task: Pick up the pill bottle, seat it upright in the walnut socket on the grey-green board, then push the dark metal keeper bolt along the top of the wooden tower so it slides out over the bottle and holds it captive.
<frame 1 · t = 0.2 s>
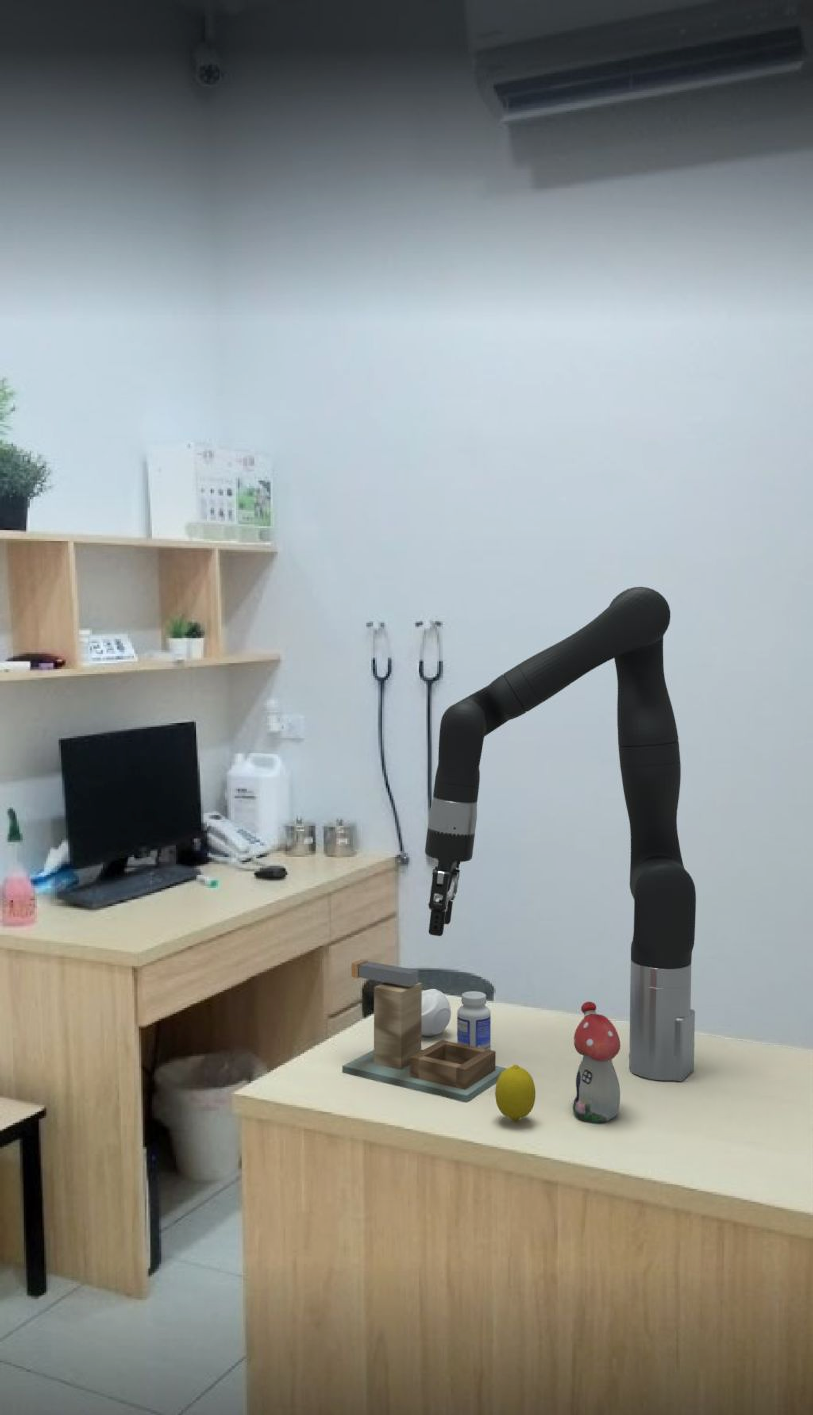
hand: (439, 928, 180), 21 cm above the table, tool pointing down, fingers open, 8 cm apart
keeper: (385, 973, 179), point 15 cm above the table, slide at 0.0 cm
decorative ornament: (594, 1114, 161), on the table
pill bottle: (473, 1054, 185), on the table
socket board: (424, 1073, 176), on the table
white rounded piece: (428, 1035, 194), on the table
lemon: (514, 1123, 158), on the table
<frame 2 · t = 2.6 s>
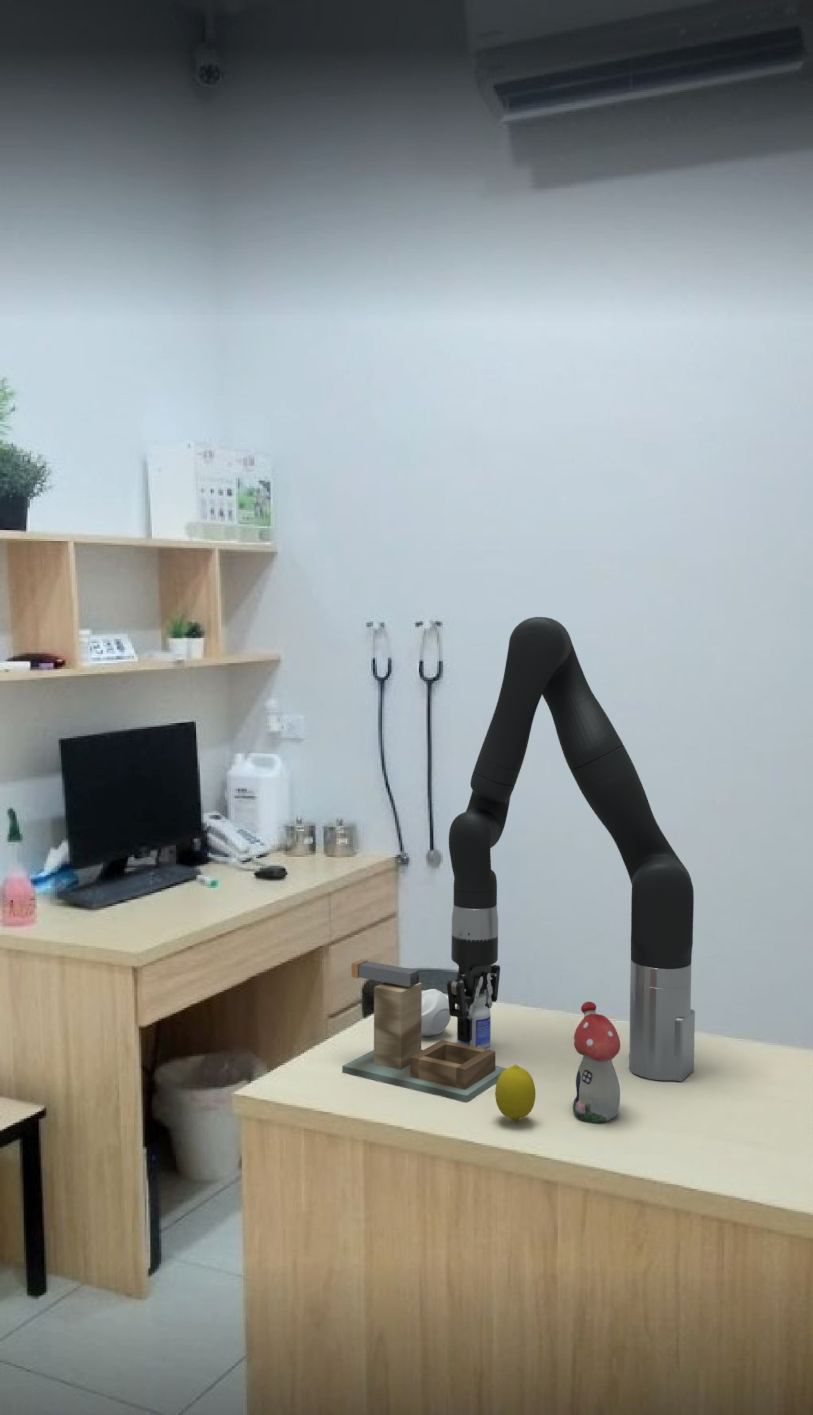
hand: (473, 1035, 185), 3 cm above the table, tool pointing down, fingers closed on pill bottle, 5 cm apart
pill bottle: (473, 1054, 185), on the table, touching gripper
everything else where it was.
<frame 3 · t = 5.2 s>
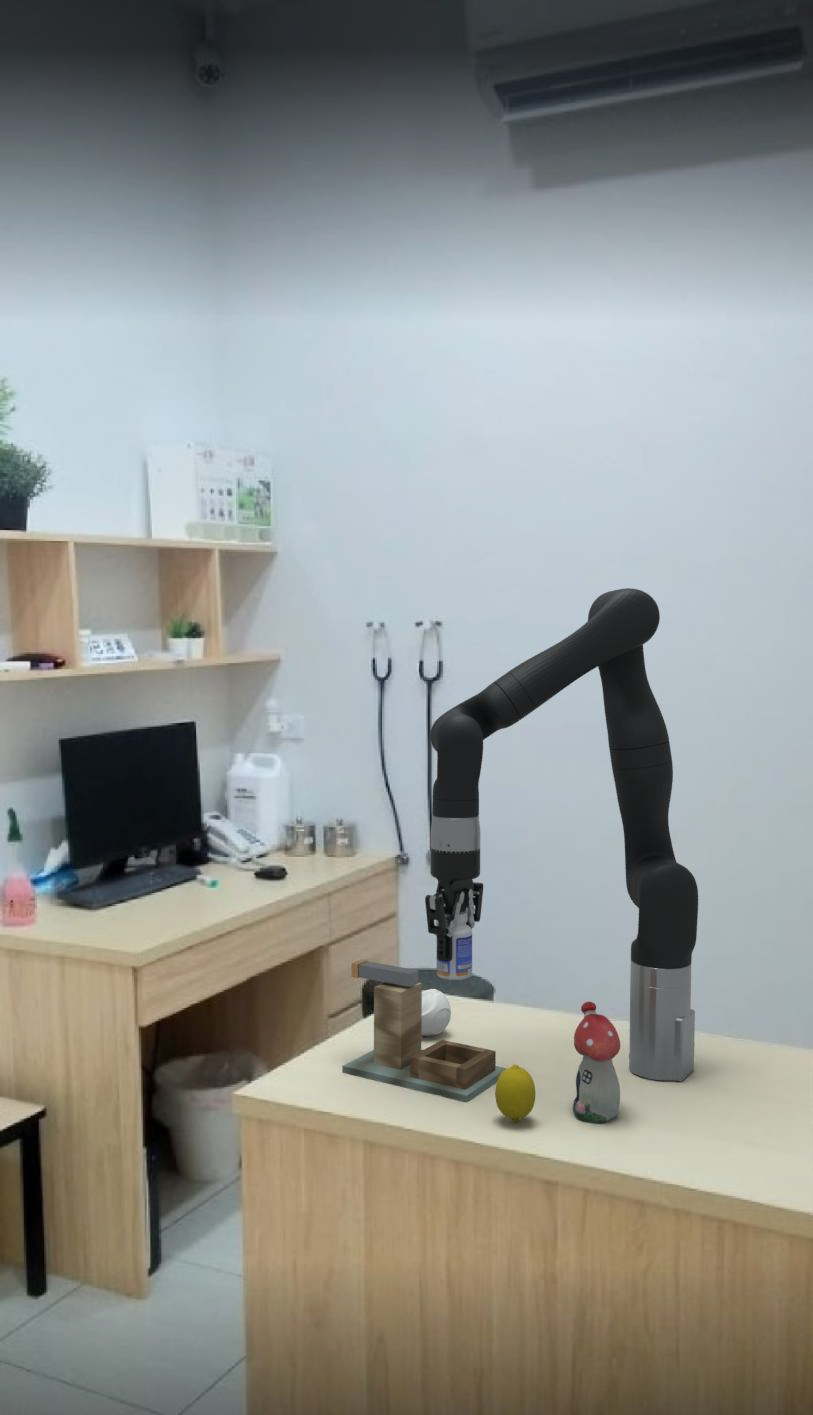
hand: (454, 955, 173), 19 cm above the table, tool pointing down, fingers closed on pill bottle, 5 cm apart
pill bottle: (454, 976, 173), point 16 cm above the table, touching gripper
everything else where it was.
when the fingers open (5 cm above the table, at t = 8.1 s): pill bottle drops 1 cm, resting on socket board.
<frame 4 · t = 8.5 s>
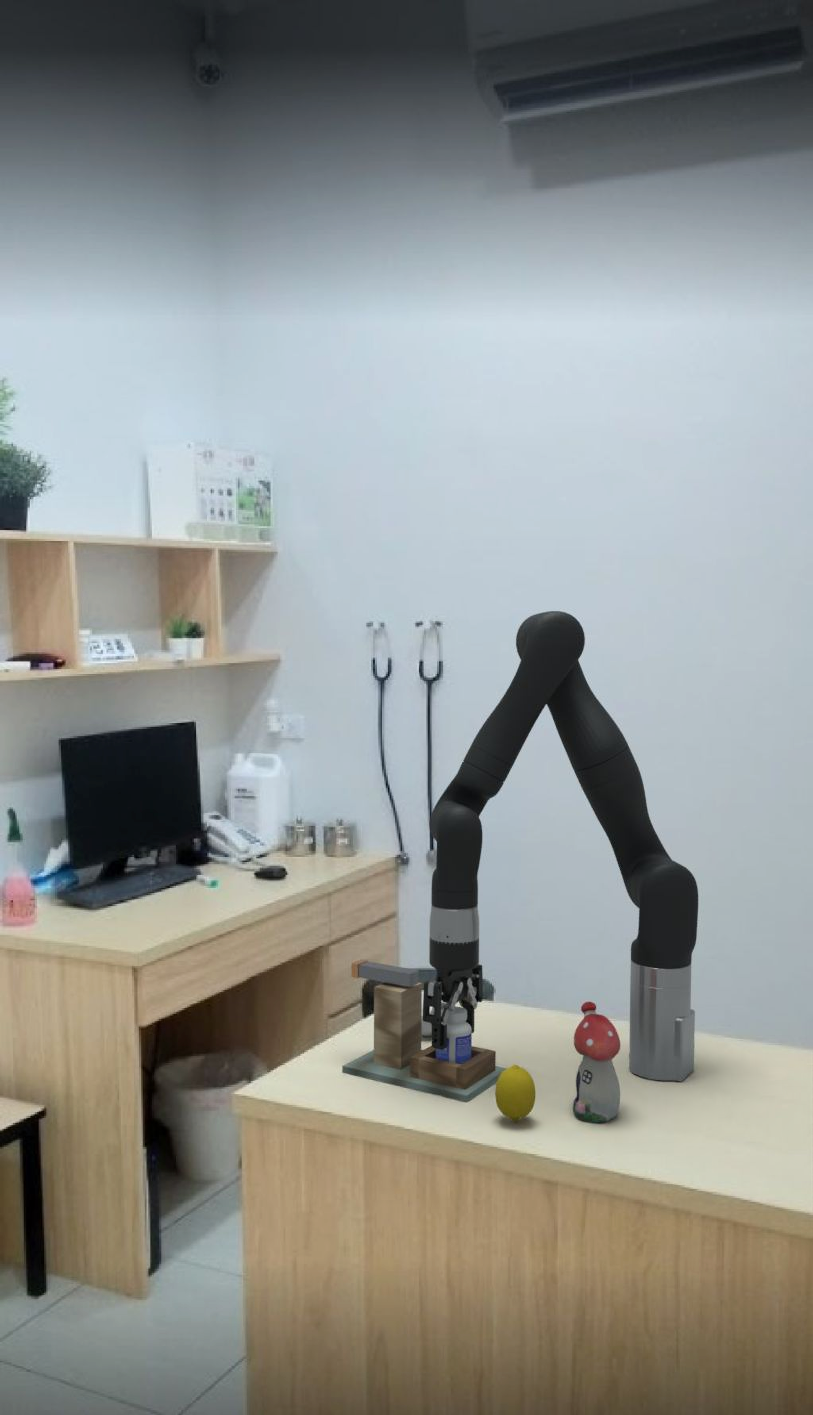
hand: (453, 1040, 173), 6 cm above the table, tool pointing down, fingers open, 8 cm apart
pill bottle: (453, 1074, 173), point 1 cm above the table, touching socket board
everything else where it was.
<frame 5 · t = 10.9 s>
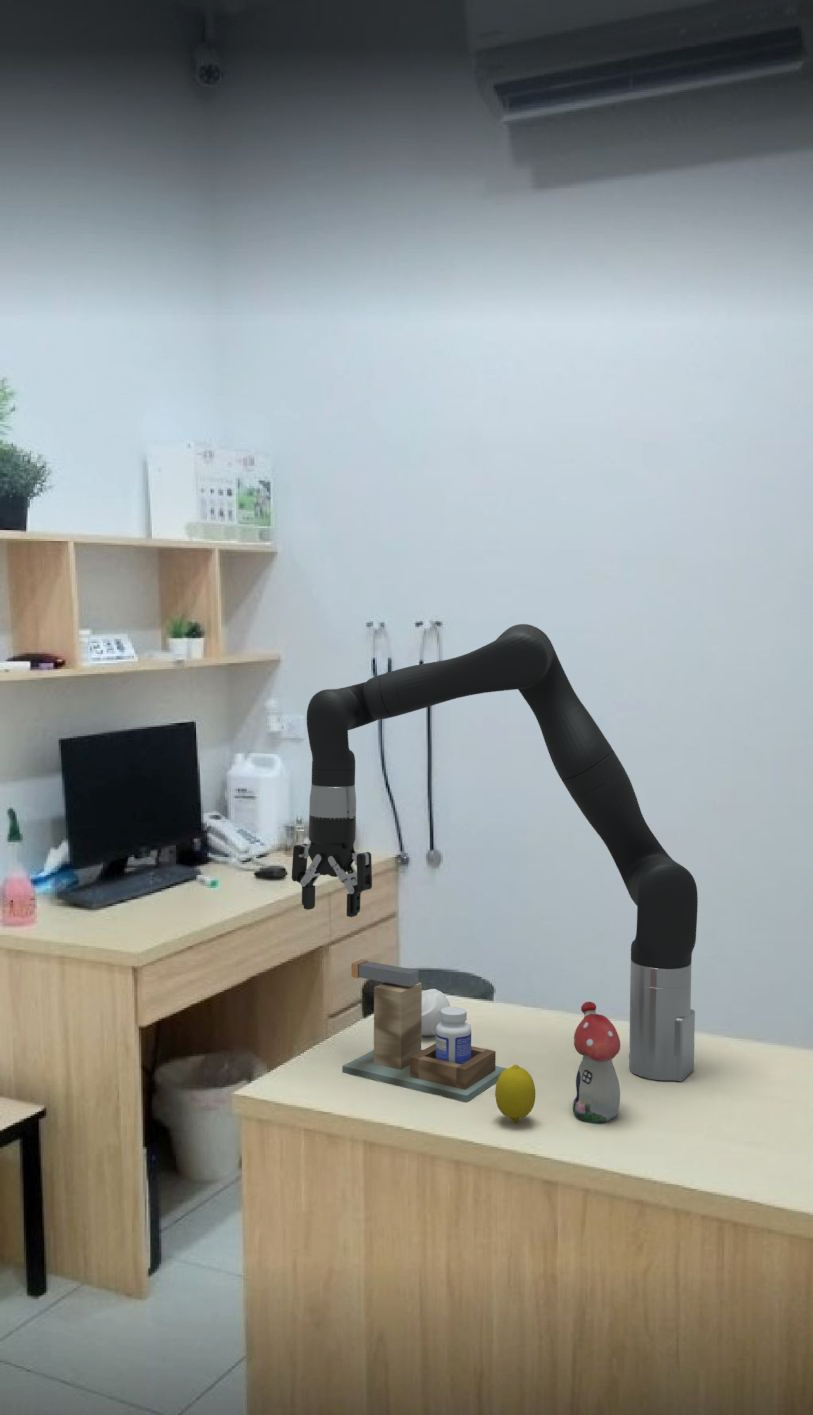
hand: (330, 912, 184), 23 cm above the table, tool pointing down, fingers open, 8 cm apart
nothing on the table moved.
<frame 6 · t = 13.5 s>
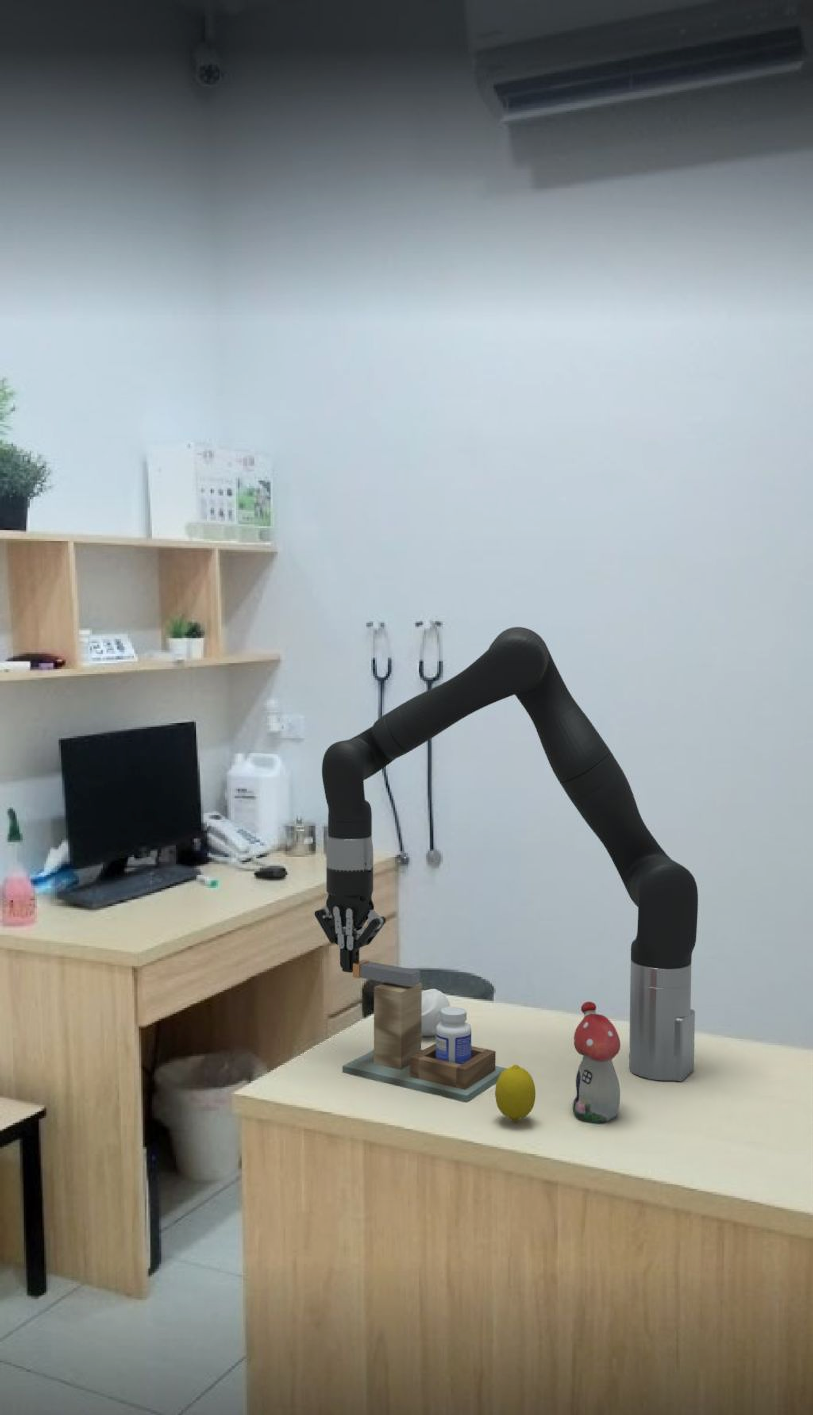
hand: (349, 971, 183), 14 cm above the table, tool pointing down, fingers closed
keeper: (386, 973, 179), point 15 cm above the table, slide at 0.3 cm, touching gripper
everything else where it was.
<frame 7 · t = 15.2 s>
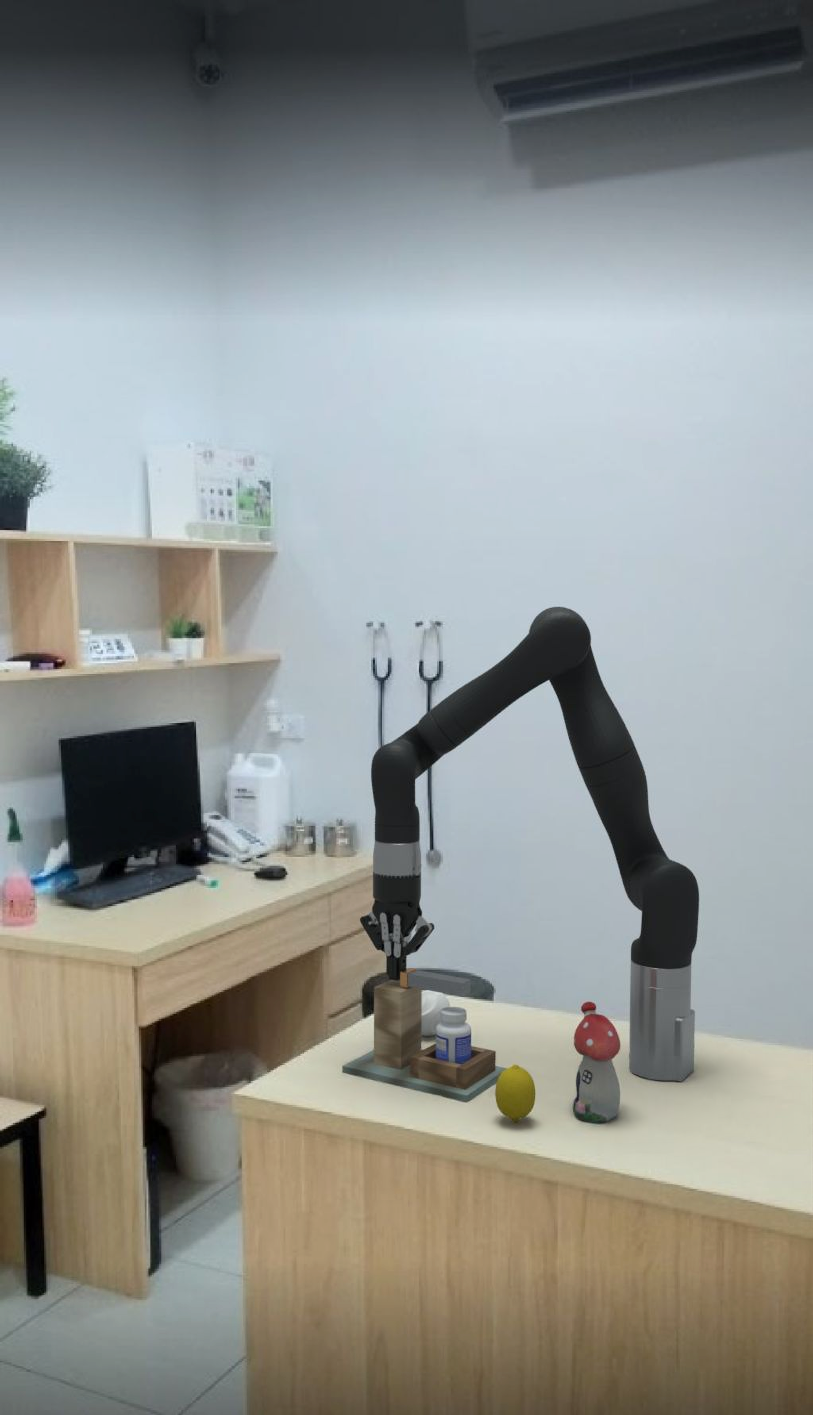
hand: (396, 978, 179), 14 cm above the table, tool pointing down, fingers closed
keeper: (435, 982, 175), point 15 cm above the table, slide at 9.2 cm, touching gripper
everything else where it was.
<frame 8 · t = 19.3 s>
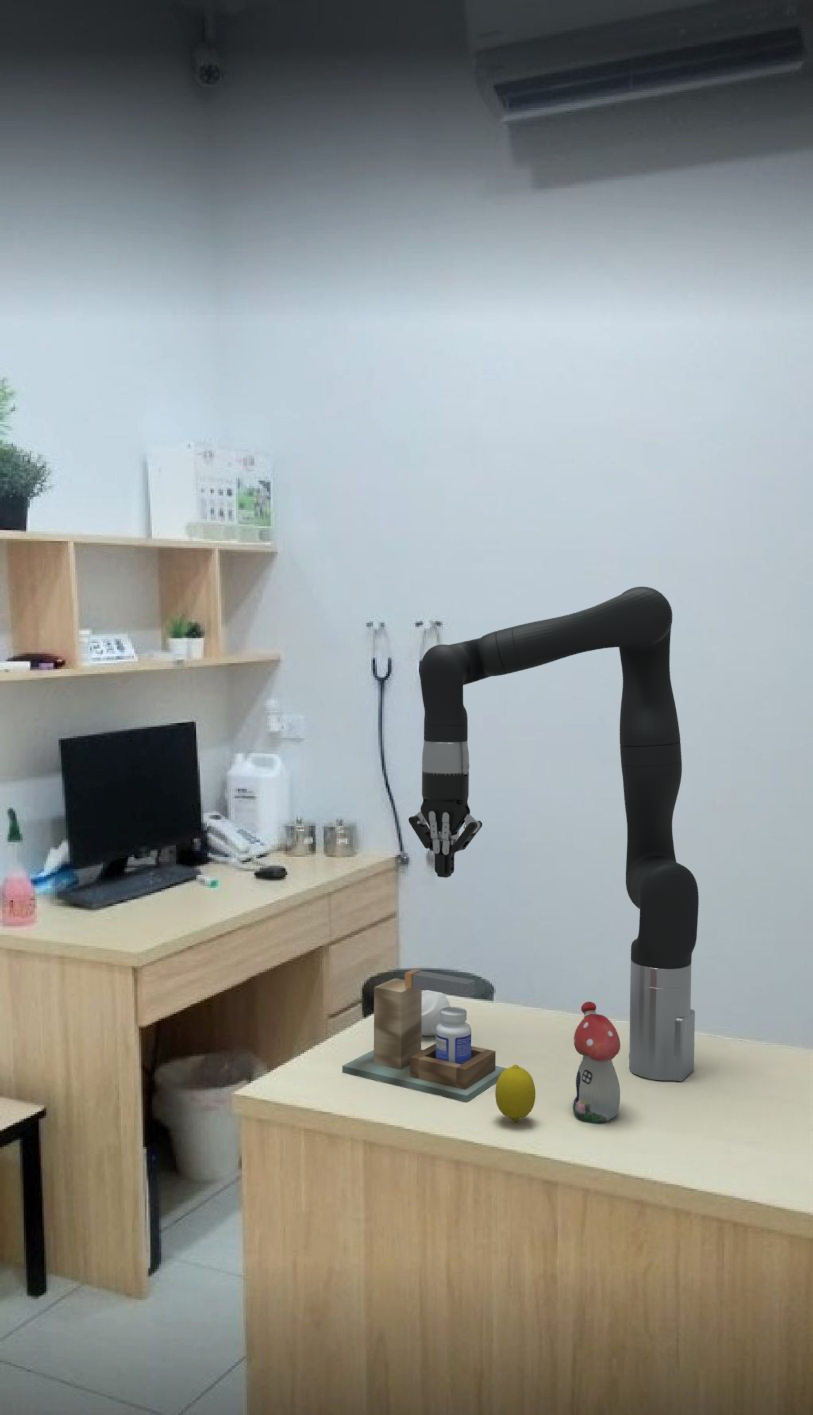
hand: (444, 876, 184), 29 cm above the table, tool pointing down, fingers closed
keeper: (439, 983, 174), point 15 cm above the table, slide at 10.0 cm
everything else where it was.
at the end: pill bottle 0.0 cm from the target spot, point 0.8 cm above the table; pill bottle tilted 0°; keeper slide at 10.0 cm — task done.
